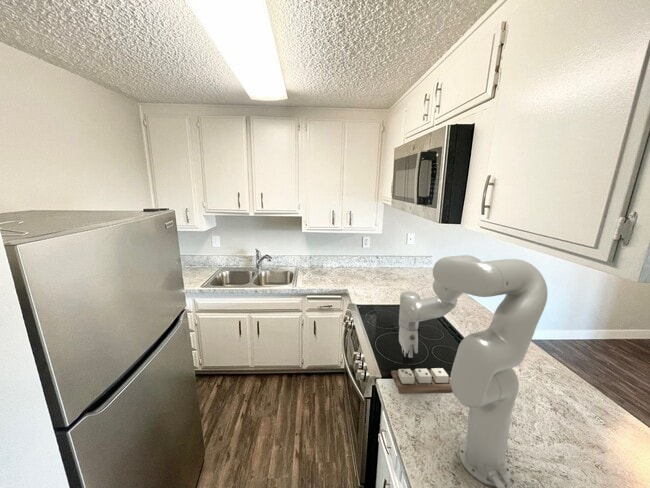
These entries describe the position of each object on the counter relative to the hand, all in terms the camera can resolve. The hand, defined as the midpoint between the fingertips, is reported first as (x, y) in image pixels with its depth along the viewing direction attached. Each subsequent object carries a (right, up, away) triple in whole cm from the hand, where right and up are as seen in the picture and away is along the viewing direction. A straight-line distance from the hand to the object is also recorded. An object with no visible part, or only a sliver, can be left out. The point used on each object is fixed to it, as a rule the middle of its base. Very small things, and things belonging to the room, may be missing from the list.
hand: (405, 363), depth 106 cm
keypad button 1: (+14, -7, +1) cm, 16 cm away
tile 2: (+7, -7, +1) cm, 10 cm away
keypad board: (+7, -8, +1) cm, 11 cm away
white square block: (0, -7, +1) cm, 7 cm away
